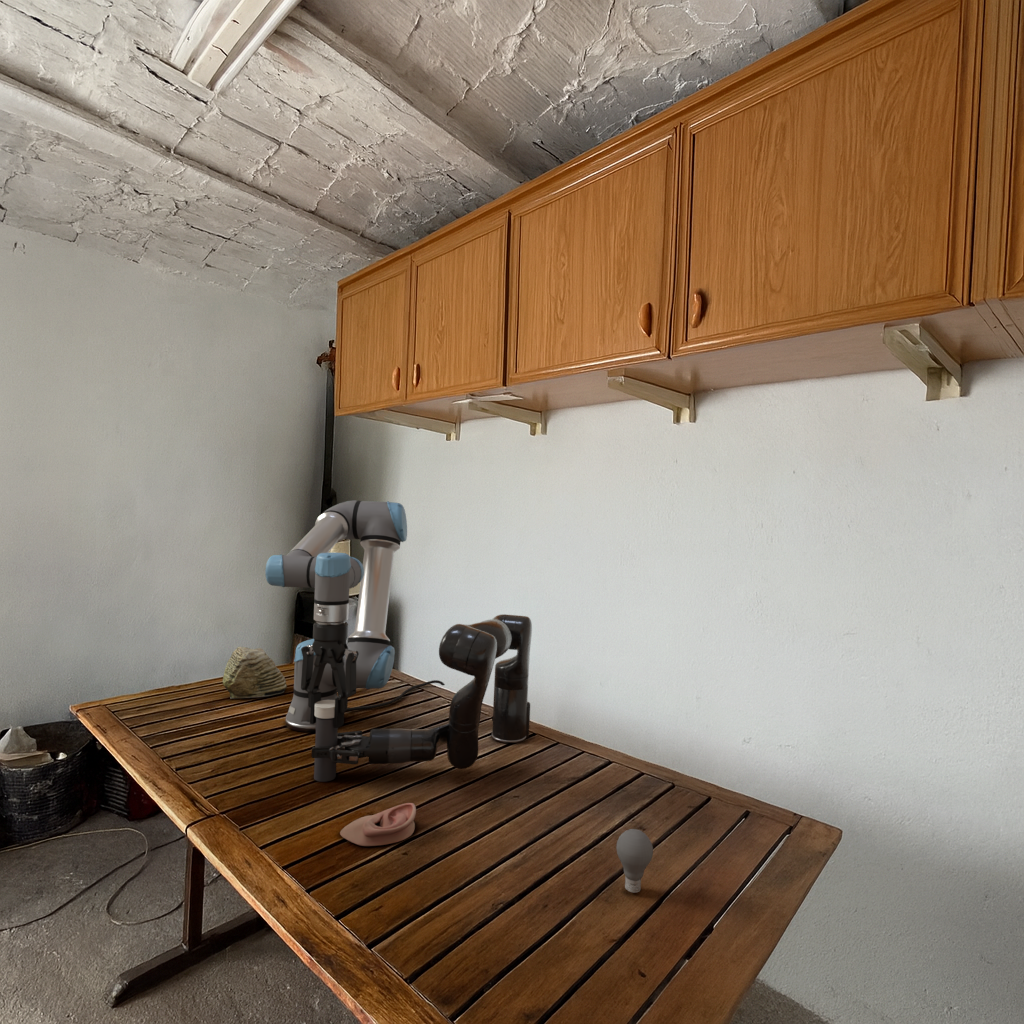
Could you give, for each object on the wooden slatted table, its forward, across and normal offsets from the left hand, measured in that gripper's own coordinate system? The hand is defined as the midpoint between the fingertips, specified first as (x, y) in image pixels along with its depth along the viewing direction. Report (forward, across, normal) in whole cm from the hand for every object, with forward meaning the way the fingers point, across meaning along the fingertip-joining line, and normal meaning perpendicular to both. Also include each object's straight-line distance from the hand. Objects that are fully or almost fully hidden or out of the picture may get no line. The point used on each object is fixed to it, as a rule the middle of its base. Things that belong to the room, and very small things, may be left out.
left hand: (326, 723), depth 143 cm
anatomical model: (+12, +23, -16) cm, 30 cm away
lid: (-4, 0, 0) cm, 4 cm away
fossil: (+12, -54, +40) cm, 68 cm away
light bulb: (+12, +71, -16) cm, 74 cm away
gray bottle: (+12, 0, 0) cm, 12 cm away
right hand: (+5, -2, -1) cm, 6 cm away
